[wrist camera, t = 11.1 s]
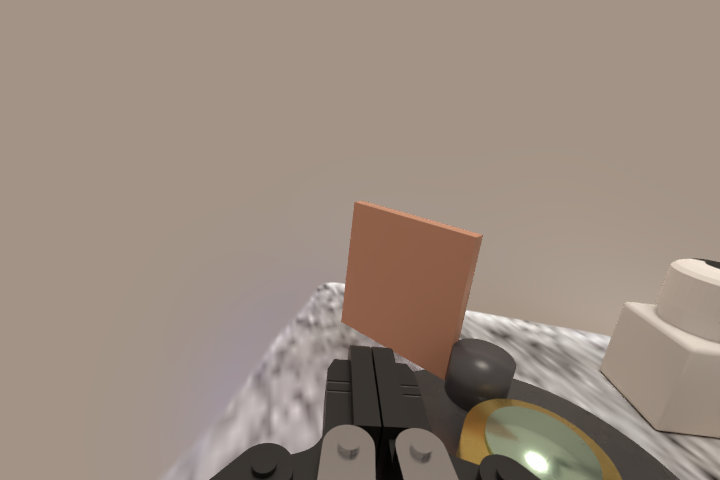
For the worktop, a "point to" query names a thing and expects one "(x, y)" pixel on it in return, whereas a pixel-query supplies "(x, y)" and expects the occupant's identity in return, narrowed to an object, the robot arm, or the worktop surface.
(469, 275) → the terracotta flat panel
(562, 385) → the worktop surface
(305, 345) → the worktop surface
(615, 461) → the levelling base
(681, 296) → the medicine bottle
